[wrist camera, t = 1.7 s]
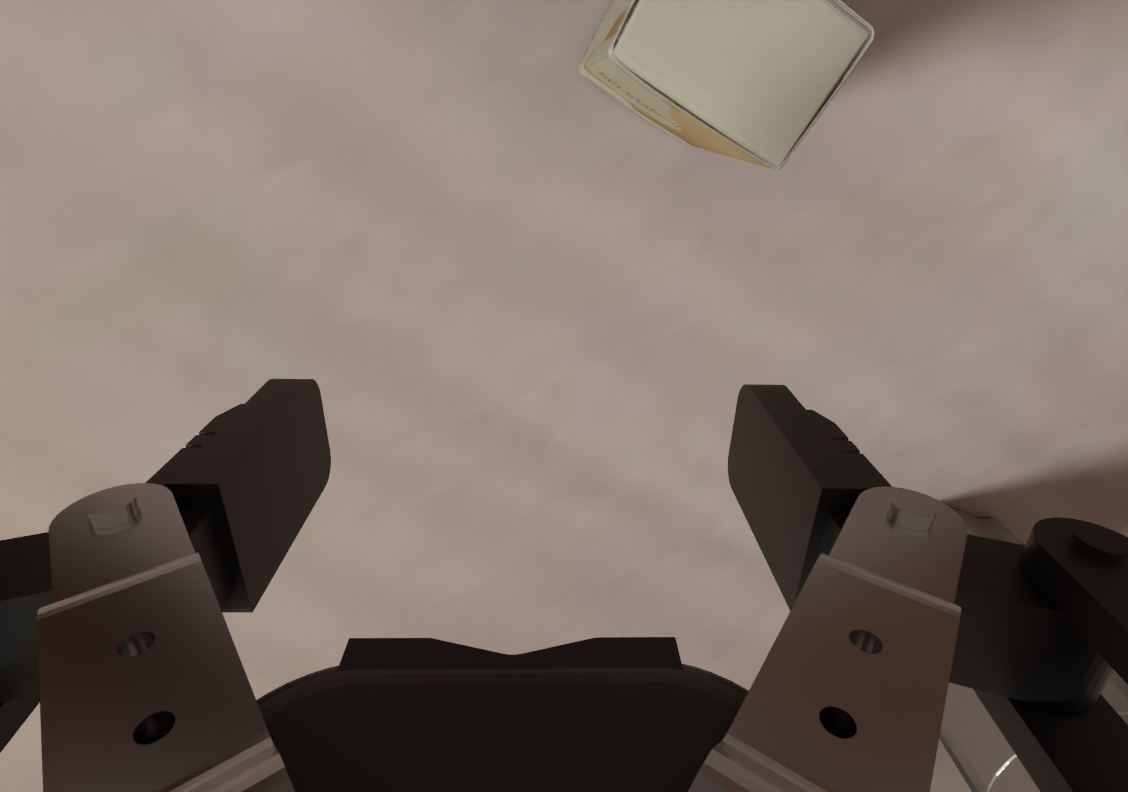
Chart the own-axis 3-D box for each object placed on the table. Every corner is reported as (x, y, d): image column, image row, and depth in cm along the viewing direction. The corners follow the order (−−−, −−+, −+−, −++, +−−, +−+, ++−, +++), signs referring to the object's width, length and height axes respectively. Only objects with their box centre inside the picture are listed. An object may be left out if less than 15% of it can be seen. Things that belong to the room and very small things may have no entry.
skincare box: (574, 72, 27) (591, 50, 16) (627, -29, 26) (686, -129, 15) (691, 151, 29) (781, 179, 18) (748, 60, 27) (885, 29, 16)
